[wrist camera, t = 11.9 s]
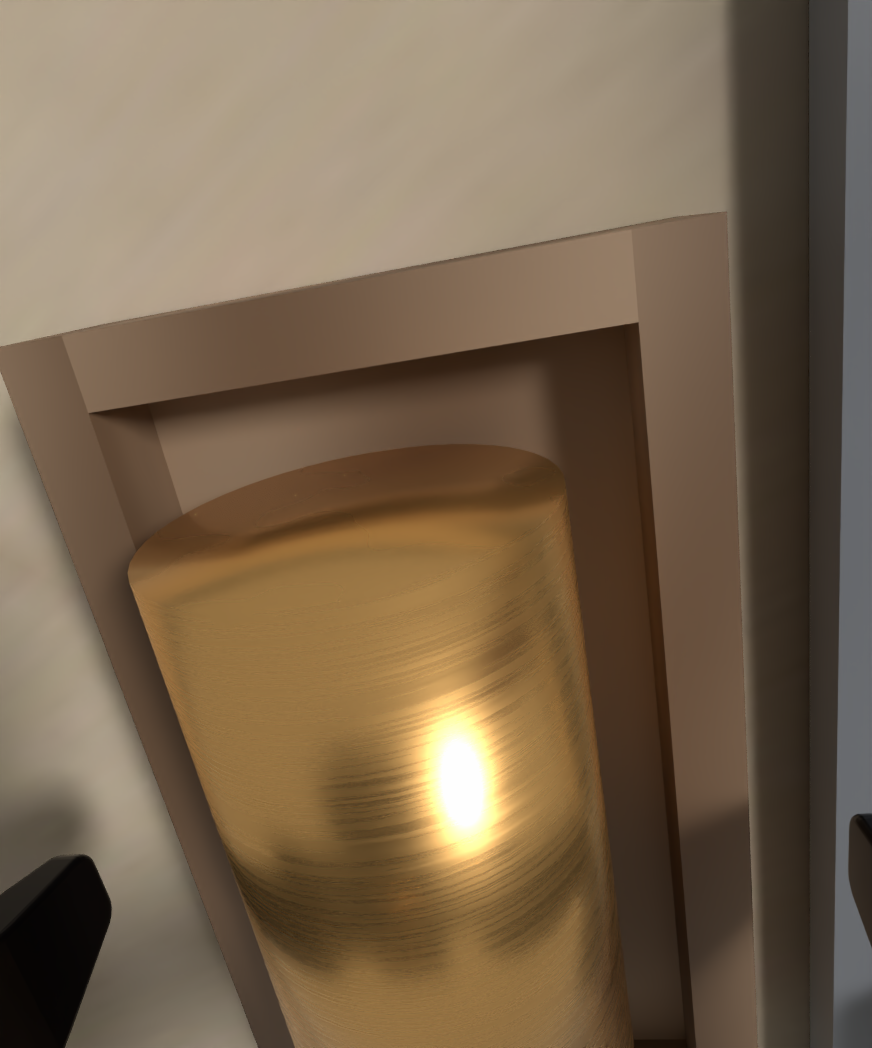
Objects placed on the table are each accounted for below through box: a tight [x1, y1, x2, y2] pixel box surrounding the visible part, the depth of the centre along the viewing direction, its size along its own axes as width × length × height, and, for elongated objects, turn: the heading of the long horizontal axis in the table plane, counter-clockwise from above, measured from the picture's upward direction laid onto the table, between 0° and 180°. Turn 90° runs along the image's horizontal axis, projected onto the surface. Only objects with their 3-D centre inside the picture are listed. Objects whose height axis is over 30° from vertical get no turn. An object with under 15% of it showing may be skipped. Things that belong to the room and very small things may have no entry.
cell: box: [128, 444, 634, 1048], centre depth 9 cm, size 4×10×4 cm, turn 10°
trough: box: [0, 212, 758, 1048], centre depth 10 cm, size 7×13×2 cm, turn 10°
